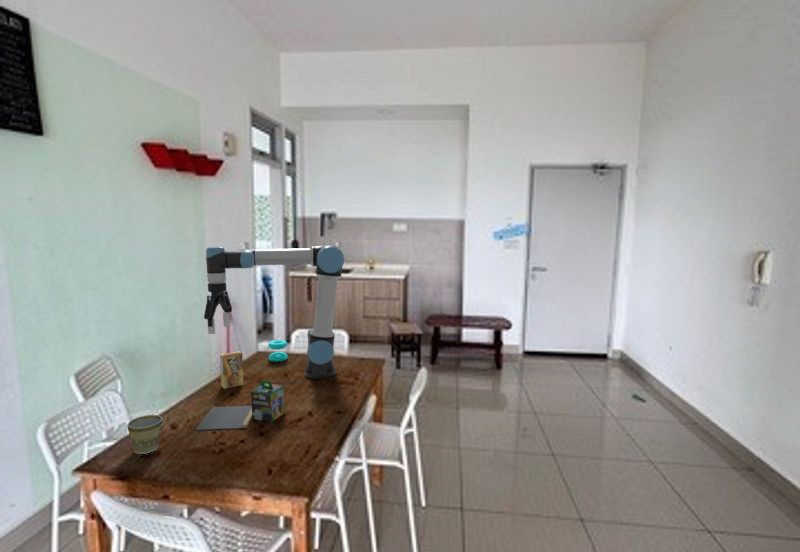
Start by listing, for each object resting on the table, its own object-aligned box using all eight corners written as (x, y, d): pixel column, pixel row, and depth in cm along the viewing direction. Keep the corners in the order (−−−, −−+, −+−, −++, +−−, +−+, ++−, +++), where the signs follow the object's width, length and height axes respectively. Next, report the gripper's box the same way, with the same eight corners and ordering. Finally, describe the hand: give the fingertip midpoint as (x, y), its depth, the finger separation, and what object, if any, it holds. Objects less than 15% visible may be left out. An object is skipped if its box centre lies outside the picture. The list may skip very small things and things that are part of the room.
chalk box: (285, 413, 177) (284, 377, 176) (271, 423, 169) (270, 385, 167) (265, 410, 180) (264, 374, 179) (251, 419, 172) (249, 382, 170)
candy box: (240, 382, 212) (239, 350, 210) (243, 384, 208) (242, 352, 206) (221, 386, 206) (219, 354, 204) (224, 389, 203) (222, 356, 201)
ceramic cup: (139, 461, 142) (137, 430, 140) (122, 452, 147) (120, 423, 146) (178, 444, 153) (177, 415, 151) (161, 436, 158) (160, 409, 157)
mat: (258, 406, 184) (258, 402, 184) (246, 428, 164) (246, 424, 164) (212, 407, 182) (212, 404, 182) (195, 430, 163) (195, 426, 162)
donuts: (283, 344, 240) (265, 344, 241) (283, 362, 242) (265, 362, 243) (289, 339, 250) (272, 339, 251) (290, 357, 251) (272, 356, 252)
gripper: (222, 278, 209) (224, 323, 212) (193, 286, 184) (196, 337, 187) (238, 278, 208) (240, 323, 211) (210, 286, 184) (213, 337, 186)
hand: (219, 330), depth 199 cm, fingers open, 13 cm apart
